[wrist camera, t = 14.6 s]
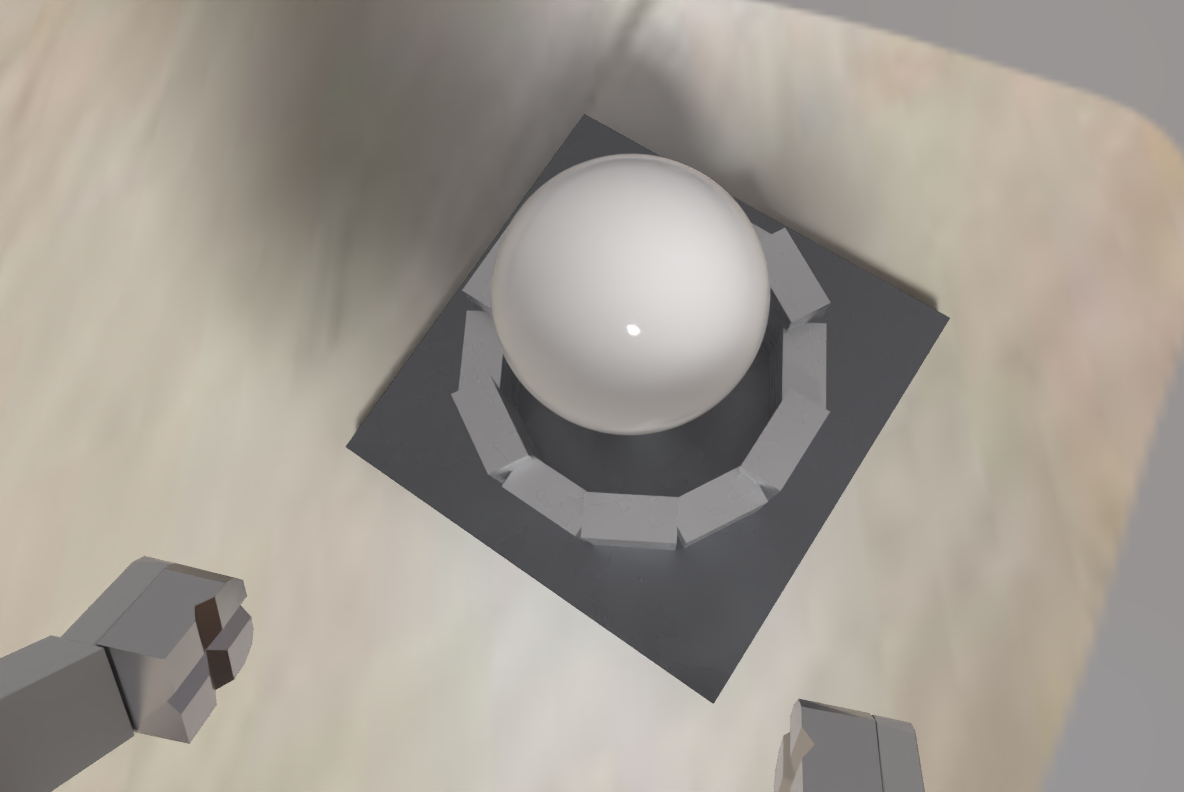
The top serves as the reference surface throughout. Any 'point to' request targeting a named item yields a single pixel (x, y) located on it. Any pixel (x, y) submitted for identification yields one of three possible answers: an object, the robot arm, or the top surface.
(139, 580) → the robot arm
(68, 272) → the top surface
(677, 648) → the lamp socket
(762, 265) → the lightbulb
